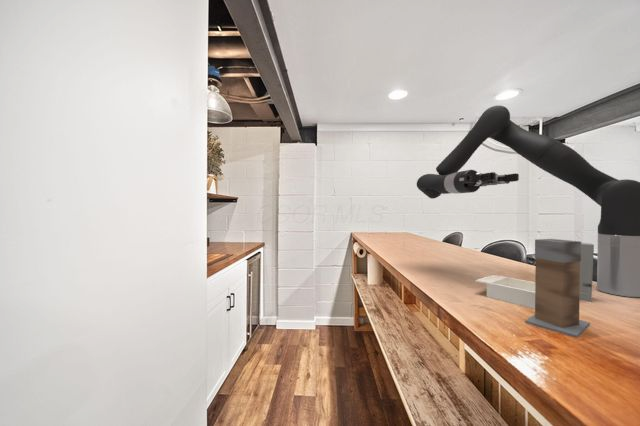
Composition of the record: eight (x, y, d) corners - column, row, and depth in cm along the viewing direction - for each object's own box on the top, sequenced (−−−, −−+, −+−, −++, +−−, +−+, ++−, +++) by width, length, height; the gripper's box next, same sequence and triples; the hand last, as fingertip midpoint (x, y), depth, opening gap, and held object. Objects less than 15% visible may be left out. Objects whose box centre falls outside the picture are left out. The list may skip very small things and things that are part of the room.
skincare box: (550, 297, 73) (551, 241, 73) (550, 291, 79) (550, 238, 79) (594, 304, 68) (594, 243, 68) (590, 297, 73) (591, 241, 73)
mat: (541, 314, 61) (541, 310, 61) (589, 327, 55) (589, 322, 55) (524, 325, 55) (524, 320, 55) (576, 340, 49) (576, 335, 49)
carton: (493, 289, 81) (493, 274, 81) (569, 306, 67) (569, 288, 66) (475, 296, 74) (475, 280, 74) (555, 316, 60) (555, 296, 60)
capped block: (551, 315, 58) (552, 238, 58) (580, 325, 53) (581, 241, 53) (534, 317, 57) (534, 239, 57) (562, 328, 52) (563, 242, 52)
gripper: (444, 170, 89) (486, 162, 73) (478, 172, 92) (525, 164, 77) (444, 192, 89) (486, 189, 73) (478, 193, 92) (525, 190, 77)
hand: (506, 176), depth 75 cm, fingers open, 8 cm apart
